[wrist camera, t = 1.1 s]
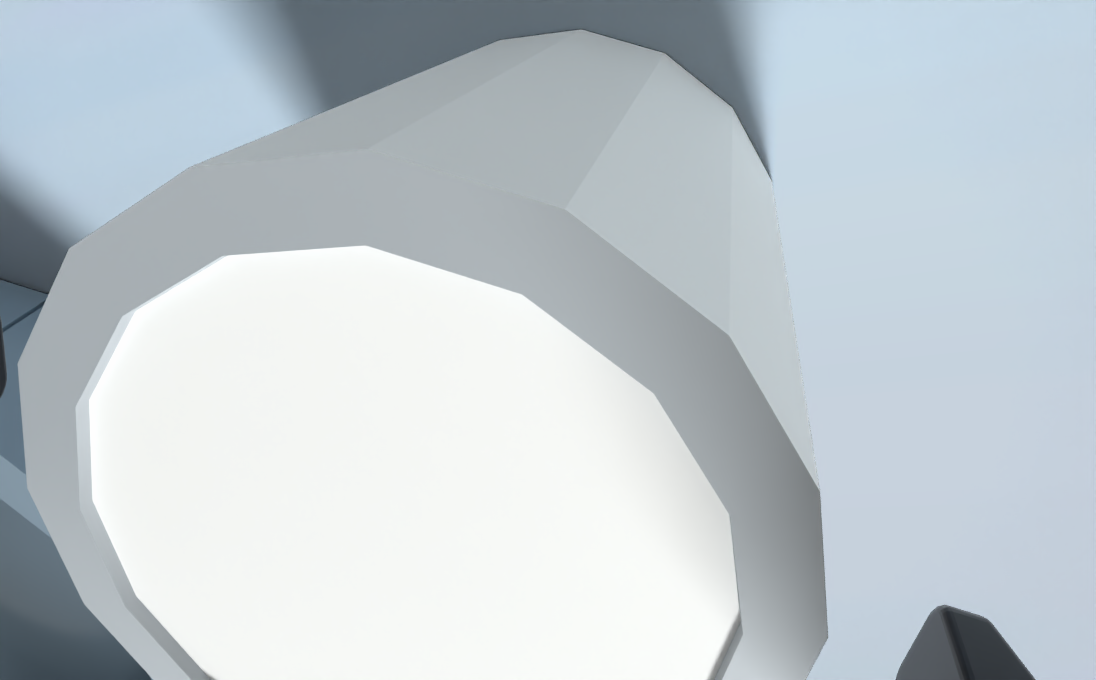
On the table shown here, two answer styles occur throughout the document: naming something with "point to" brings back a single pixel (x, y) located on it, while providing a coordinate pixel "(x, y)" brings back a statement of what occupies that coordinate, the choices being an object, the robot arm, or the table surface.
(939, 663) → the robot arm
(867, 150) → the table surface
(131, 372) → the shot glass
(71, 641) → the bowl
